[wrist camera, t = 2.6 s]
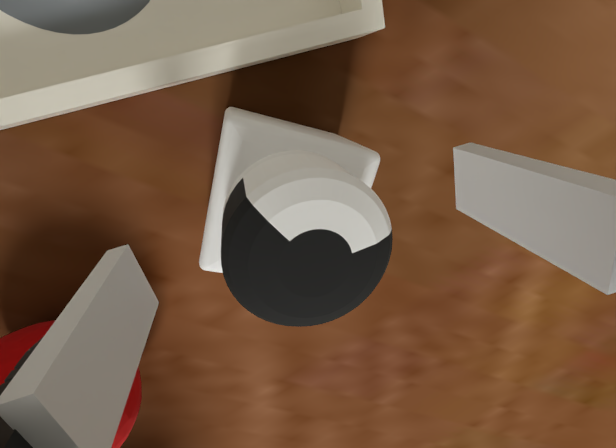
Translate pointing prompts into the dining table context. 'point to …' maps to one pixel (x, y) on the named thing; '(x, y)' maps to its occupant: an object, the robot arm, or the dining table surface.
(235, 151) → the medicine bottle
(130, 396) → the fruit
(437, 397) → the dining table surface
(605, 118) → the dining table surface
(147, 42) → the tray
